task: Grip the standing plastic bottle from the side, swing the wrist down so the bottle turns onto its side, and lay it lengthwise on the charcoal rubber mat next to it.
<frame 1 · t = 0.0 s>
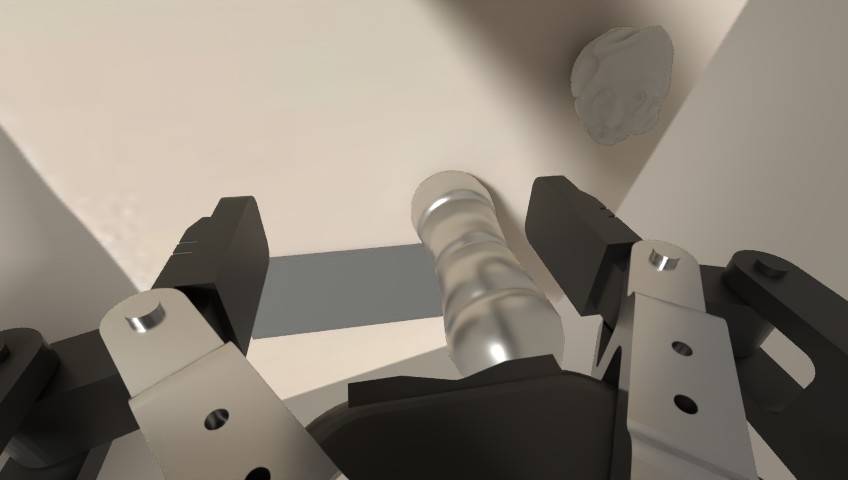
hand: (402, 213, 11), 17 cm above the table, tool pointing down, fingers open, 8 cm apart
grey cupcake: (588, 66, 27), on the table
plastic bottle: (444, 194, 32), on the table
charcoal rubber mat: (369, 287, 37), on the table
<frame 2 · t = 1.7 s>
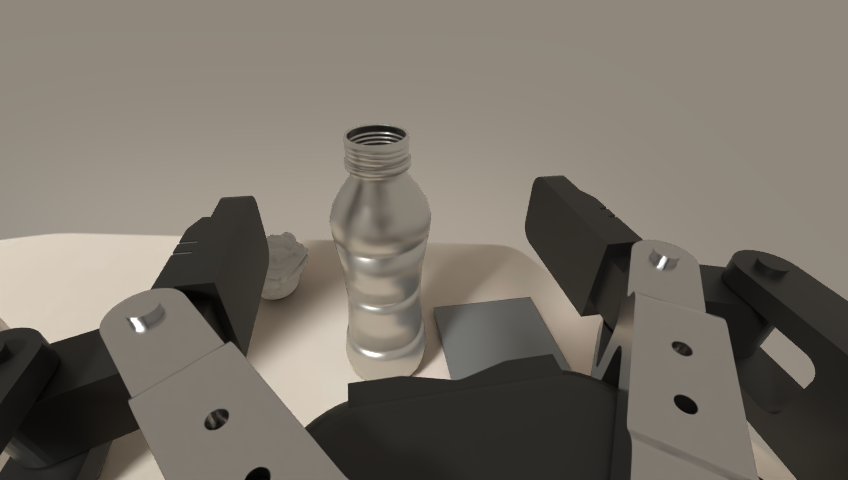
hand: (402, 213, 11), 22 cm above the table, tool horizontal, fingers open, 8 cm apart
grey cupcake: (282, 294, 39), on the table
plastic bottle: (387, 362, 33), on the table
charcoal rubber mat: (529, 420, 28), on the table
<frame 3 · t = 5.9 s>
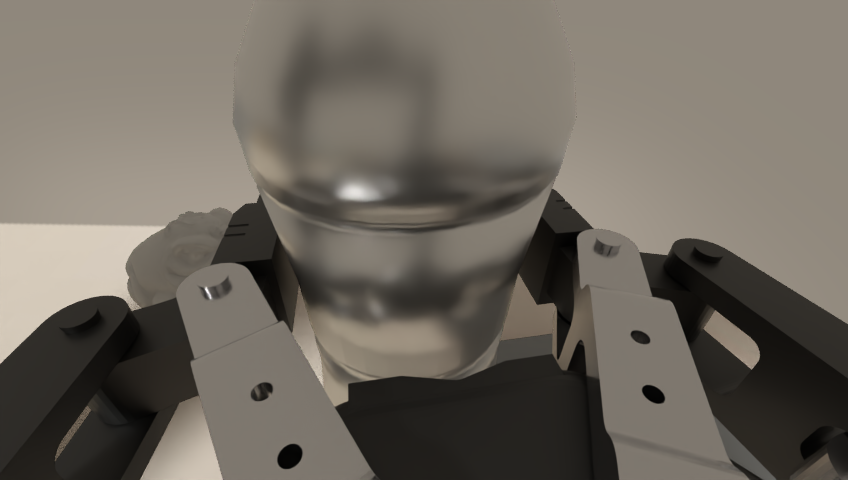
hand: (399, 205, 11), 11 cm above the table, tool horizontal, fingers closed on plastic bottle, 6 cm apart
grey cupcake: (220, 318, 22), on the table
plastic bottle: (411, 463, 16), on the table, touching gripper
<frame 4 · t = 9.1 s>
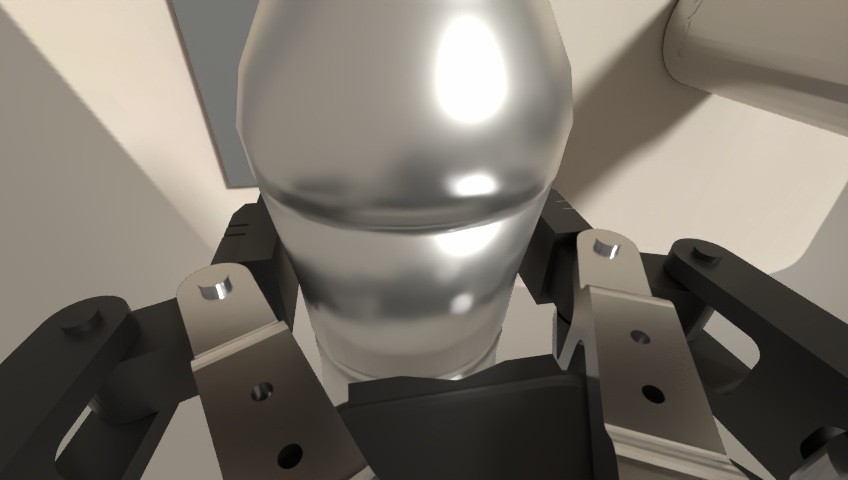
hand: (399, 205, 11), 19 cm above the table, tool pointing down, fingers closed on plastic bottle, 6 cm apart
plastic bottle: (410, 464, 16), point 22 cm above the table, touching gripper
charcoal rubber mat: (262, 7, 24), on the table
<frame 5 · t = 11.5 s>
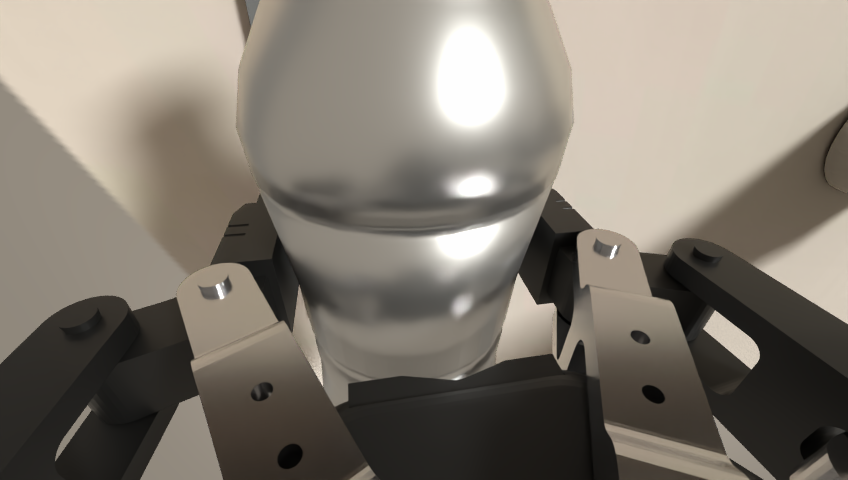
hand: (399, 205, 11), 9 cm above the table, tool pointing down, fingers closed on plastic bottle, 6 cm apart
plastic bottle: (411, 465, 16), point 12 cm above the table, touching gripper
when the fingers open (3 cm above the table, at t = 13.2 s): plastic bottle drops 2 cm, resting on charcoal rubber mat.
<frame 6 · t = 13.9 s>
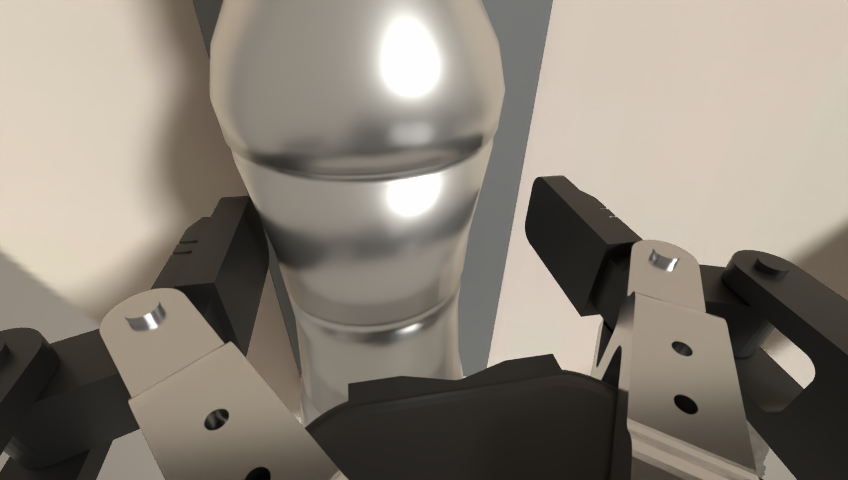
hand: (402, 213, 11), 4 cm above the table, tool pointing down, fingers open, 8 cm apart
grey cupcake: (670, 376, 28), on the table
plastic bottle: (387, 429, 17), point 4 cm above the table, touching charcoal rubber mat, gripper
charcoal rubber mat: (390, 187, 15), on the table
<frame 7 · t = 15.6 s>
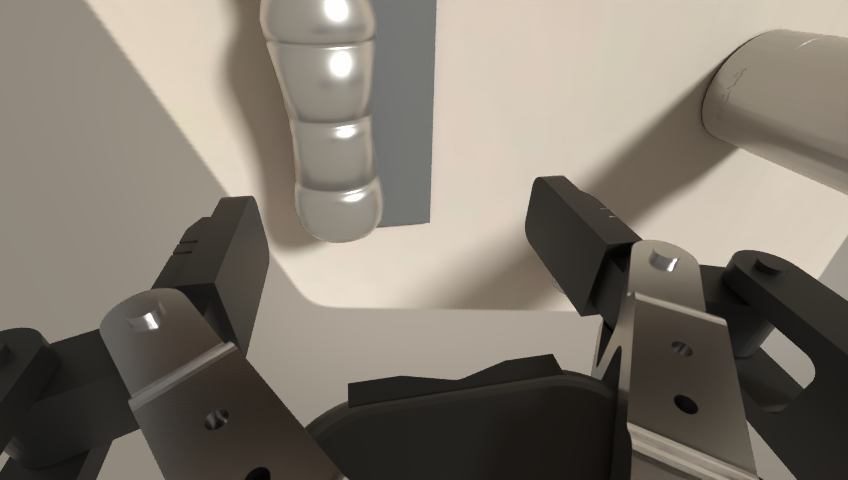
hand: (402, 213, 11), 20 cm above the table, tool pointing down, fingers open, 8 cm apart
plastic bottle: (344, 231, 30), point 3 cm above the table, touching charcoal rubber mat
charcoal rubber mat: (365, 86, 28), on the table
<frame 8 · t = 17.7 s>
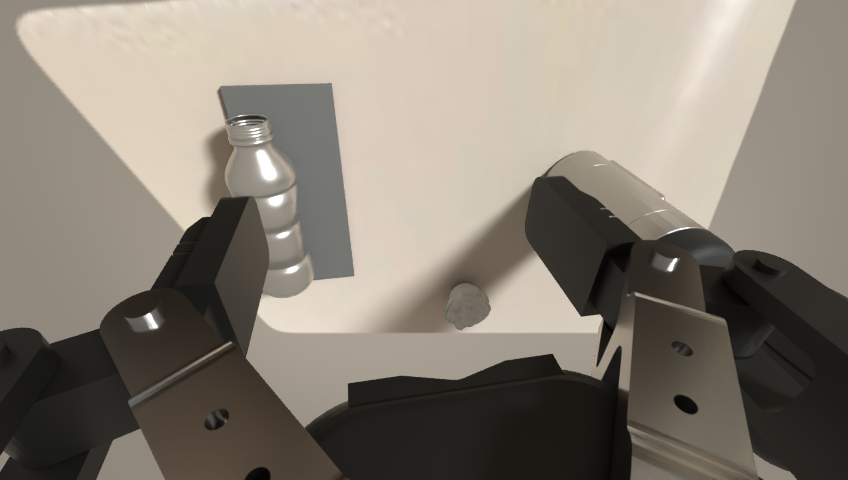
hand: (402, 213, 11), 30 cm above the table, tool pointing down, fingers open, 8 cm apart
grey cupcake: (459, 287, 56), on the table
plastic bottle: (289, 287, 45), point 3 cm above the table, touching charcoal rubber mat
charcoal rubber mat: (299, 196, 43), on the table
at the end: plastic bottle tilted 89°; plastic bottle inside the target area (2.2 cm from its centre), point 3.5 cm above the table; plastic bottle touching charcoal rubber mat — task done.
